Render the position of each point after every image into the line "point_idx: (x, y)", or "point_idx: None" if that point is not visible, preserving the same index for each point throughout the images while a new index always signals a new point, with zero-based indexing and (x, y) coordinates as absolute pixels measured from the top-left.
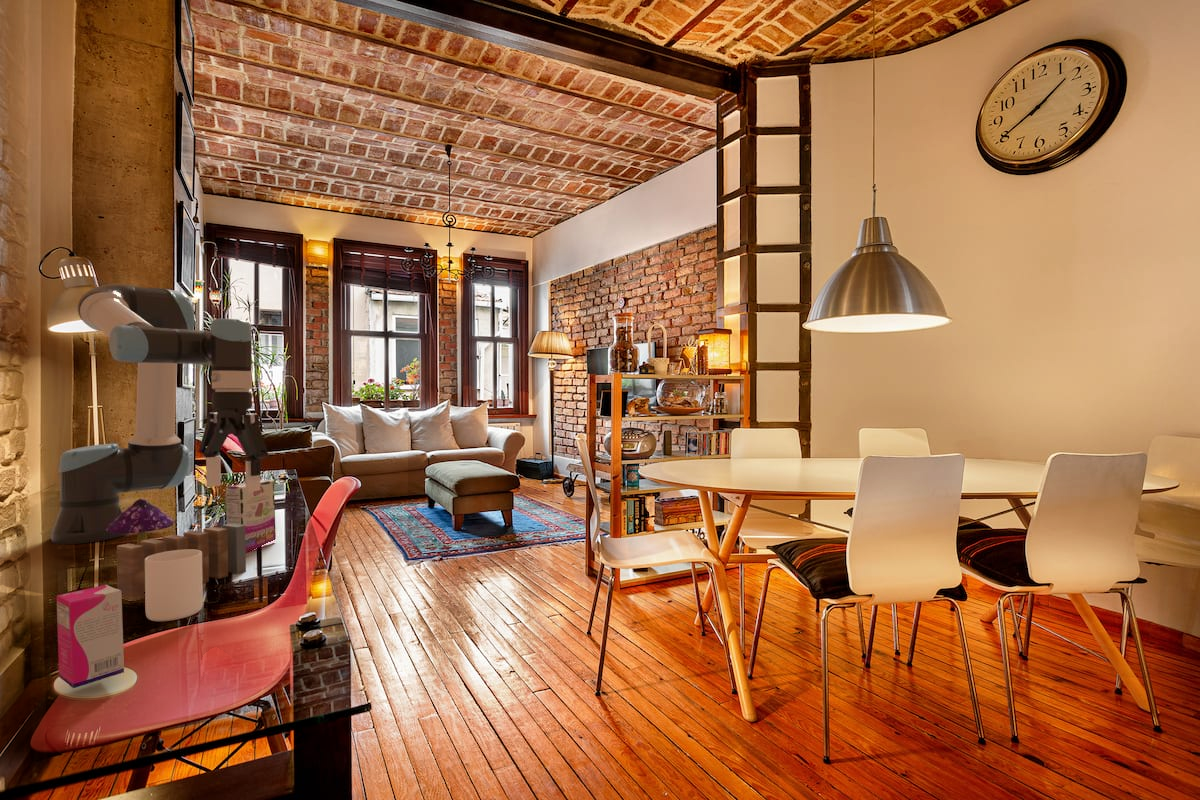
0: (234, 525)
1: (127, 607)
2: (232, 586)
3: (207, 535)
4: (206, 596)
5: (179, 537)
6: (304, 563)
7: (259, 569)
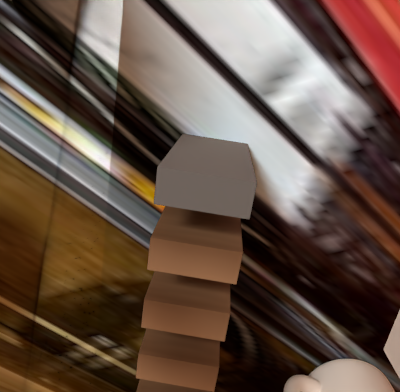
0: (212, 196)
1: (225, 383)
2: (320, 250)
3: (229, 310)
4: (320, 312)
5: (196, 374)
6: (366, 13)
7: (270, 116)
